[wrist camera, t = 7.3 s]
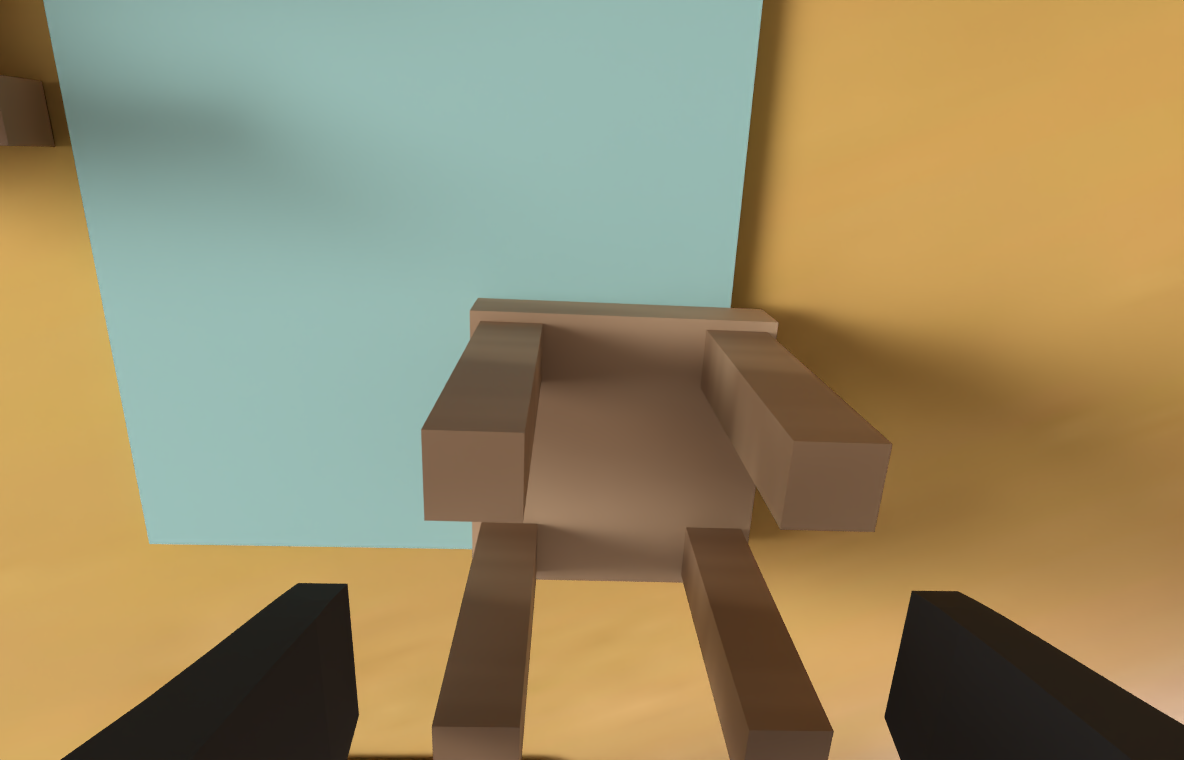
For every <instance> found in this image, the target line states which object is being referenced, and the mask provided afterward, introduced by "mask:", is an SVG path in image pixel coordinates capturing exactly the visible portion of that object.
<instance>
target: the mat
mask: <svg viewBox="0 0 1184 760" xmlns="http://www.w3.org/2000/svg"><path fill="white" fill-rule="evenodd" d="M43 2H44V7H45V12H46V17H47V22H48V28H49V33H50V38H51V43H52V48H53V53H54V58H55V63H56V68H57V74H58V79H59V84H60V89H61V94H62V99H63V104H64V109H65V114H66V120H67V125H68V130H69V135H70V140H71V145H72V150H73V155H74V160H75V166H76V171H77V176H78V181H79V186H80V191H81V196H82V201H83V207H84V212H85V217H86V222H87V227H88V232H89V237H90V242H91V247H92V253H93V258H94V263H95V268H96V273H97V278H98V283H99V288H100V293H101V299H102V304H103V309H104V314H105V319H106V324H107V329H108V334H109V339H110V345H111V350H112V355H113V360H114V365H115V370H116V375H117V380H118V385H119V391H120V396H121V401H122V406H123V411H124V416H125V421H126V426H127V432H128V437H129V442H130V447H131V452H132V457H133V462H134V467H135V472H136V478H137V483H138V488H139V493H140V498H141V503H142V508H143V513H144V518H145V524H146V529H147V534H148V539H149V544H193V545H255V546H316V547H377V548H438V549H472V522H459V521H424V498H423V471H422V444H421V429H422V427H423V425H424V423H425V421H426V420H427V418H428V416H429V414H430V412H431V410H432V409H433V407H434V405H435V403H436V401H437V399H438V398H439V396H440V394H441V392H442V390H443V388H444V387H445V385H446V383H447V381H448V379H449V377H450V376H451V374H452V372H453V370H454V368H455V366H456V365H457V363H458V361H459V359H460V357H461V355H462V353H463V352H464V350H465V348H466V346H467V344H468V342H469V341H470V309H471V308H472V306H473V305H474V303H475V301H476V300H477V298H494V299H519V300H544V301H570V302H595V303H620V304H645V305H671V306H696V307H721V308H730V307H731V297H732V288H733V278H734V269H735V259H736V250H737V241H738V231H739V222H740V212H741V203H742V193H743V184H744V174H745V165H746V155H747V146H748V137H749V127H750V118H751V108H752V99H753V89H754V80H755V70H756V61H757V52H758V42H759V33H760V23H761V14H762V4H763V0H43Z"/></svg>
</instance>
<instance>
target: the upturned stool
mask: <svg viewBox="0 0 1184 760" xmlns="http://www.w3.org/2000/svg"><path fill="white" fill-rule="evenodd" d="M777 330H778V322H777V321H776V320H775V319H774V318H772V317H771V316H770V315H769V314H767V313H766V312H765V311H764V310H762V309H746V308H721V307H696V306H671V305H645V304H620V303H595V302H570V301H544V300H519V299H494V298H477V300H476V301H475V303H474V305H473V306H472V308H471V309H470V341H469V342H468V344H467V346H466V348H465V350H464V352H463V353H462V355H461V357H460V359H459V361H458V363H457V365H456V366H455V368H454V370H453V372H452V374H451V376H450V377H449V379H448V381H447V383H446V385H445V387H444V388H443V390H442V392H441V394H440V396H439V398H438V399H437V401H436V403H435V405H434V407H433V409H432V410H431V412H430V414H429V416H428V418H427V420H426V421H425V423H424V425H423V427H422V429H421V444H422V471H423V498H424V521H459V522H472V563H471V567H470V571H469V576H468V580H467V584H466V588H465V592H464V596H463V600H462V604H461V609H460V613H459V617H458V621H457V625H456V629H455V633H454V637H453V642H452V646H451V650H450V654H449V658H448V662H447V666H446V670H445V675H444V679H443V683H442V687H441V691H440V695H439V699H438V703H437V708H436V712H435V716H434V720H433V724H432V743H433V760H521V759H522V746H523V734H524V722H525V709H526V697H527V685H528V672H529V660H530V648H531V635H532V623H533V610H534V598H535V586H536V579H542V580H589V581H635V582H682V583H683V584H684V588H685V591H686V595H687V599H688V603H689V606H690V610H691V614H692V618H693V622H694V625H695V629H696V633H697V637H698V640H699V644H700V648H701V652H702V656H703V659H704V663H705V667H706V671H707V674H708V678H709V682H710V686H711V690H712V693H713V697H714V701H715V705H716V709H717V712H718V716H719V720H720V724H721V727H722V731H723V735H724V739H725V743H726V746H727V750H728V754H729V758H730V760H828V756H829V751H830V746H831V741H832V737H833V732H834V731H833V729H832V727H831V725H830V722H829V720H828V718H827V716H826V714H825V711H824V709H823V707H822V705H821V703H820V700H819V698H818V696H817V694H816V692H815V690H814V687H813V685H812V683H811V681H810V679H809V676H808V674H807V672H806V670H805V668H804V665H803V663H802V661H801V659H800V657H799V655H798V652H797V650H796V648H795V646H794V644H793V641H792V639H791V637H790V635H789V633H788V631H787V628H786V626H785V624H784V622H783V620H782V617H781V615H780V613H779V611H778V609H777V606H776V604H775V602H774V600H773V598H772V596H771V593H770V591H769V589H768V587H767V585H766V582H765V580H764V578H763V576H762V574H761V572H760V569H759V567H758V565H757V563H756V561H755V558H754V556H753V554H752V552H751V550H750V547H749V545H748V540H749V533H750V525H751V518H752V511H753V504H754V496H755V489H756V487H757V489H758V491H759V493H760V494H761V496H762V498H763V500H764V502H765V503H766V505H767V507H768V509H769V510H770V512H771V514H772V516H773V518H774V519H775V521H776V523H777V525H778V526H779V528H780V530H818V531H858V532H875V527H876V522H877V517H878V512H879V507H880V503H881V498H882V493H883V488H884V483H885V478H886V473H887V469H888V464H889V459H890V454H891V449H892V443H891V442H889V441H888V440H887V439H886V438H885V437H884V436H883V435H882V434H880V433H879V432H878V431H877V430H876V429H875V428H874V427H873V426H872V425H870V424H869V423H868V422H867V421H866V420H865V419H864V418H863V417H861V416H860V415H859V414H858V413H857V412H856V411H855V410H854V409H853V408H851V407H850V406H849V405H848V404H847V403H846V402H845V401H844V400H842V399H841V398H840V397H839V396H838V395H837V394H836V393H835V392H834V391H832V390H831V389H830V388H829V387H828V386H827V385H826V384H825V383H824V382H822V381H821V380H820V379H819V378H818V377H817V376H816V375H815V374H813V373H812V372H811V371H810V370H809V369H808V368H807V367H806V366H805V365H803V364H802V363H801V362H800V361H799V360H798V359H797V358H796V357H794V356H793V355H792V354H791V353H790V352H789V351H788V350H787V349H786V348H784V347H783V346H782V345H781V344H780V343H779V342H778V341H777V340H776V337H777Z"/></svg>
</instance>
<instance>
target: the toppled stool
mask: <svg viewBox="0 0 1184 760" xmlns="http://www.w3.org/2000/svg"><path fill="white" fill-rule="evenodd" d="M0 145H2V146H50V147H55V145H54V140H53V135H52V130H51V125H50V120H49V115H48V110H47V105H46V100H45V95H44V90H43V85H42V81H38V80H31V79H24V78H17V77H11V76H4V75H0Z"/></svg>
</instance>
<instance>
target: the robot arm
mask: <svg viewBox="0 0 1184 760" xmlns="http://www.w3.org/2000/svg"><path fill="white" fill-rule="evenodd" d="M358 716H359V711H358V700H357V688H356V677H355V665H354V654H353V642H352V631H351V619H350V608H349V596H348V585H347V584H320V583H298V584H296V585H295V586H293V587H292V588H291V589H289V590H288V591H286V592H285V593H284V594H282V595H281V596H280V597H278V598H277V599H276V600H274V601H273V602H272V603H270V604H269V605H268V606H267V607H265V608H264V609H263V610H261V611H260V612H259V613H258V614H256V615H255V616H254V617H252V618H251V619H250V620H249V621H247V622H246V623H245V624H243V625H242V626H241V627H240V628H238V629H237V630H236V631H234V632H233V633H232V634H231V635H229V636H228V637H227V638H226V639H224V640H223V641H222V642H220V643H219V644H218V645H217V646H215V647H214V648H213V649H211V650H210V651H209V652H207V653H206V654H205V655H203V656H202V657H201V658H200V659H198V660H197V661H196V662H194V663H193V664H192V665H190V666H189V667H188V668H186V669H185V670H184V671H182V672H181V673H180V674H179V675H177V676H176V677H175V678H173V679H172V680H171V681H169V682H168V683H167V684H165V685H164V686H163V687H161V688H160V689H159V690H158V691H156V692H155V693H154V694H152V695H151V696H150V697H148V698H147V699H146V700H144V701H143V702H141V703H140V704H139V705H137V706H136V707H134V708H133V709H132V710H130V711H129V712H127V713H126V714H124V715H123V716H122V717H120V718H119V719H117V720H116V721H115V722H113V723H112V724H110V725H109V726H108V727H106V728H105V729H103V730H102V731H100V732H99V733H98V734H96V735H95V736H93V737H92V738H91V739H89V740H88V741H86V742H85V743H84V744H82V745H81V746H79V747H78V748H76V749H75V750H74V751H72V752H71V753H69V754H68V755H67V756H65V757H64V758H62V759H61V760H347V757H348V754H349V750H350V746H351V742H352V739H353V735H354V731H355V728H356V724H357V720H358ZM885 720H886V723H887V725H888V728H889V731H890V733H891V736H892V738H893V741H894V744H895V746H896V749H897V751H898V754H899V757H900V759H901V760H1184V725H1183V724H1181V723H1179V722H1178V721H1176V720H1174V719H1173V718H1171V717H1169V716H1168V715H1166V714H1164V713H1162V712H1161V711H1159V710H1157V709H1156V708H1154V707H1152V706H1151V705H1149V704H1147V703H1146V702H1144V701H1142V700H1141V699H1139V698H1137V697H1136V696H1134V695H1132V694H1131V693H1129V692H1127V691H1126V690H1124V689H1122V688H1121V687H1119V686H1118V685H1116V684H1114V683H1113V682H1111V681H1109V680H1108V679H1106V678H1104V677H1103V676H1101V675H1099V674H1098V673H1096V672H1095V671H1093V670H1091V669H1090V668H1088V667H1086V666H1085V665H1083V664H1081V663H1080V662H1078V661H1077V660H1075V659H1073V658H1072V657H1070V656H1068V655H1067V654H1065V653H1063V652H1062V651H1060V650H1059V649H1057V648H1055V647H1054V646H1052V645H1050V644H1049V643H1047V642H1046V641H1044V640H1042V639H1041V638H1039V637H1037V636H1036V635H1034V634H1032V633H1031V632H1029V631H1027V630H1026V629H1024V628H1022V627H1021V626H1019V625H1017V624H1016V623H1014V622H1012V621H1011V620H1009V619H1007V618H1006V617H1004V616H1002V615H1001V614H999V613H997V612H995V611H994V610H992V609H990V608H988V607H987V606H985V605H983V604H981V603H979V602H978V601H976V600H974V599H972V598H970V597H968V596H966V595H964V594H962V593H960V592H958V591H912V593H911V597H910V602H909V607H908V611H907V616H906V620H905V625H904V629H903V634H902V639H901V643H900V648H899V652H898V657H897V662H896V666H895V671H894V675H893V680H892V685H891V689H890V694H889V698H888V703H887V708H886V712H885Z"/></svg>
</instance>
